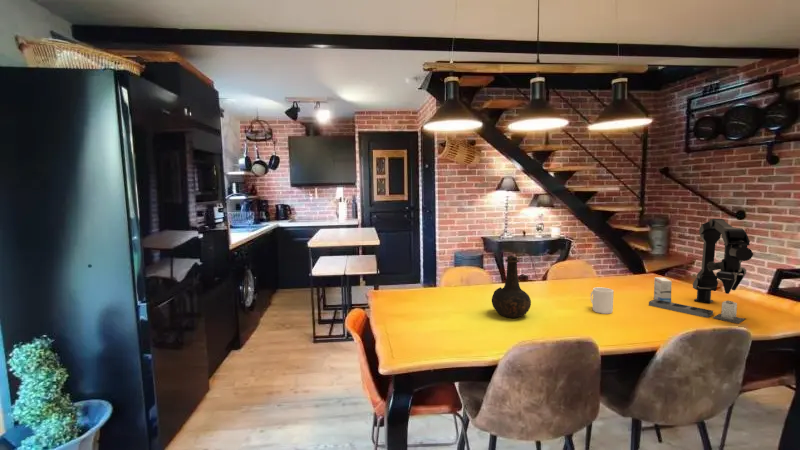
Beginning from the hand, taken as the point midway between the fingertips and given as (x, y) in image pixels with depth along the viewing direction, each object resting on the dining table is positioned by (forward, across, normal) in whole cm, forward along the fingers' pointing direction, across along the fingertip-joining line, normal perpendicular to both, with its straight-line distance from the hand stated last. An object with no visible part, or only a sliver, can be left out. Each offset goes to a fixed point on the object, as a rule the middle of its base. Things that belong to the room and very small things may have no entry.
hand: (730, 291), depth 170 cm
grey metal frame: (+12, +2, -18) cm, 22 cm away
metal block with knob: (+12, 0, 0) cm, 12 cm away
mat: (+12, 0, 0) cm, 12 cm away
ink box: (+12, -8, -29) cm, 33 cm away
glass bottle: (+13, +71, -63) cm, 96 cm away
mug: (+13, +32, -41) cm, 53 cm away
